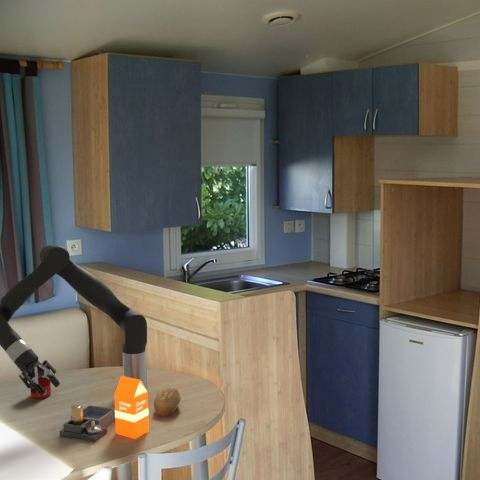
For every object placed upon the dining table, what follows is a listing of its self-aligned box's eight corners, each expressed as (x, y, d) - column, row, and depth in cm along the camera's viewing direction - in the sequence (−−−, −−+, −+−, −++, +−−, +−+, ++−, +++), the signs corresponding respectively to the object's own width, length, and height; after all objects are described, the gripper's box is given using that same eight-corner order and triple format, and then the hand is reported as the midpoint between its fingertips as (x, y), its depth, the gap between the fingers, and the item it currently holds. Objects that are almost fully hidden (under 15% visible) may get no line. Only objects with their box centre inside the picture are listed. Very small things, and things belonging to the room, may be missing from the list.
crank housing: (72, 427, 258) (71, 411, 257) (106, 432, 253) (106, 416, 252) (59, 436, 251) (58, 419, 250) (94, 442, 246) (93, 424, 245)
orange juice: (134, 439, 248) (132, 383, 245) (115, 433, 253) (113, 378, 250) (149, 431, 255) (147, 376, 252) (130, 425, 259) (128, 372, 256)
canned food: (54, 393, 292) (53, 367, 291) (43, 400, 285) (42, 373, 283) (38, 391, 295) (37, 365, 293) (27, 398, 287) (25, 371, 286)
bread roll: (183, 403, 281) (183, 383, 279) (177, 418, 266) (176, 397, 265) (159, 402, 281) (158, 382, 280) (151, 417, 267) (150, 397, 265)
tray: (89, 415, 269) (88, 404, 269) (116, 418, 265) (115, 408, 265) (71, 426, 259) (71, 416, 258) (99, 431, 255) (99, 420, 254)
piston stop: (76, 425, 255) (75, 403, 254) (86, 427, 253) (85, 405, 252) (70, 430, 251) (68, 408, 250) (79, 431, 250) (78, 409, 249)
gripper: (15, 354, 248) (44, 390, 246) (40, 343, 262) (68, 376, 259) (3, 367, 251) (32, 403, 249) (28, 355, 264) (56, 389, 262)
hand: (51, 389), depth 254 cm, fingers open, 8 cm apart
